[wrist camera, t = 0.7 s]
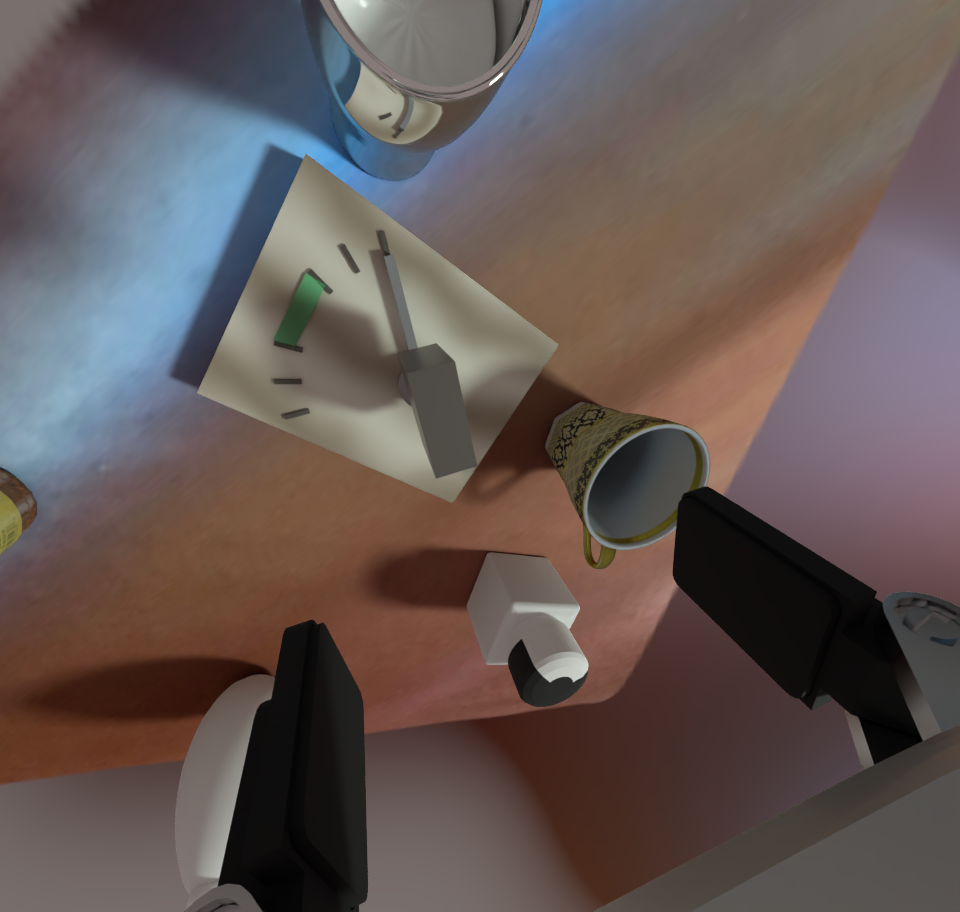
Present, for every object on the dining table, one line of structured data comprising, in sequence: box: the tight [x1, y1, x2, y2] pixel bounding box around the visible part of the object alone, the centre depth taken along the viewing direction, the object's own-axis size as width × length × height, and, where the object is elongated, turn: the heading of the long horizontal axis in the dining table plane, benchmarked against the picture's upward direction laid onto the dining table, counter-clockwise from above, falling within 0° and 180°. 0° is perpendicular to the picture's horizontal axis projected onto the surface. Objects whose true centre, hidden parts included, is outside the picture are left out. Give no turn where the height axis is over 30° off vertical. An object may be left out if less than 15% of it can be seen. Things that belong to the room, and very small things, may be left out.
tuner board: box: [197, 154, 558, 503], centre depth 28 cm, size 15×19×2 cm
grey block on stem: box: [384, 254, 477, 479], centre depth 23 cm, size 3×11×8 cm, turn 11°
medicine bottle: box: [467, 552, 588, 707], centre depth 36 cm, size 7×7×12 cm
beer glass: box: [300, 0, 542, 181], centre depth 17 cm, size 7×7×15 cm
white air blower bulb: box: [175, 674, 275, 910], centre depth 30 cm, size 8×8×18 cm
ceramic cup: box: [545, 402, 710, 569], centre depth 32 cm, size 13×10×10 cm
